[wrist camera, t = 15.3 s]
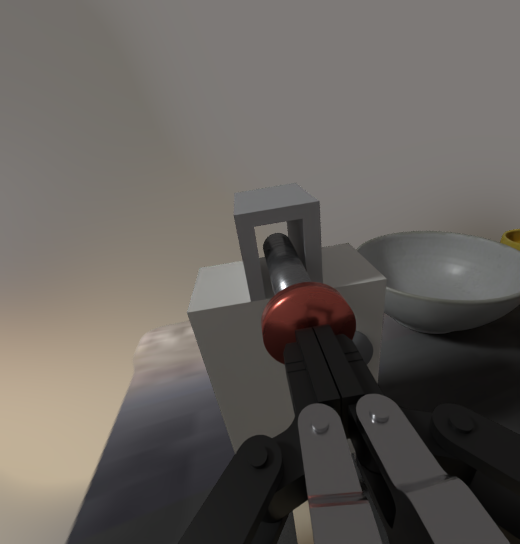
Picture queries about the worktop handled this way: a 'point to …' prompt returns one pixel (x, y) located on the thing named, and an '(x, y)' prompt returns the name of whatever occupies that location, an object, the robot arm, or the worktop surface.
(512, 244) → the plant pot
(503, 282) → the decorative bowl
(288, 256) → the ball
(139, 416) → the worktop surface
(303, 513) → the rail
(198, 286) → the grey tall flat block
